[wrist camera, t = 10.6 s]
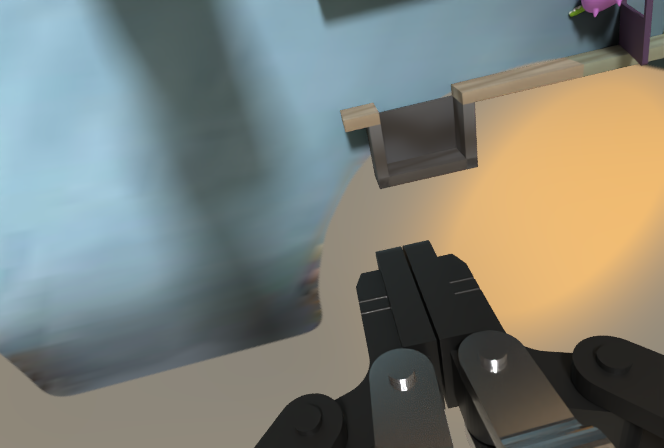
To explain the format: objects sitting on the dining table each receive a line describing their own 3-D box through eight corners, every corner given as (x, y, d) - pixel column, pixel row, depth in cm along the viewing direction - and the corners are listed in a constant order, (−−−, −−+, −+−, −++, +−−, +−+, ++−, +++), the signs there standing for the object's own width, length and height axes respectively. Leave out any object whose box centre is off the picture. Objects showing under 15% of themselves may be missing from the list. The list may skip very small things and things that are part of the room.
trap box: (290, -126, 31) (290, -134, 28) (722, -240, 29) (764, -259, 27) (354, 180, 43) (358, 193, 40) (661, 109, 42) (685, 119, 39)
